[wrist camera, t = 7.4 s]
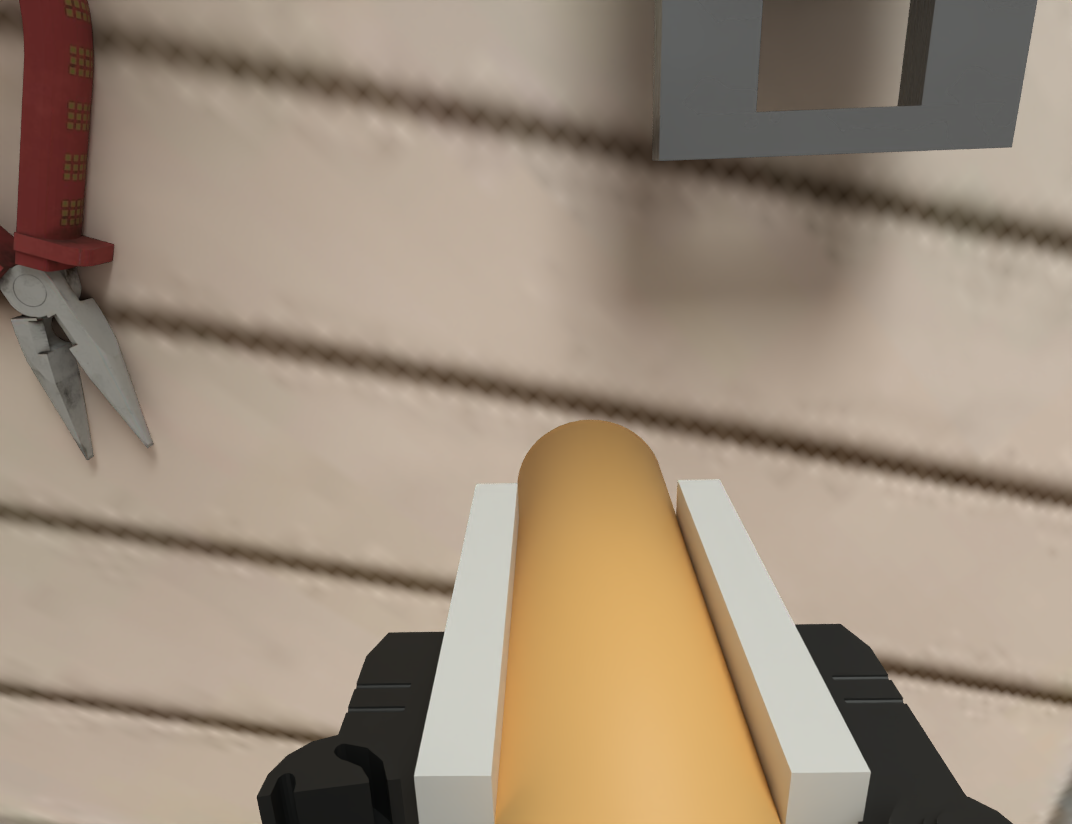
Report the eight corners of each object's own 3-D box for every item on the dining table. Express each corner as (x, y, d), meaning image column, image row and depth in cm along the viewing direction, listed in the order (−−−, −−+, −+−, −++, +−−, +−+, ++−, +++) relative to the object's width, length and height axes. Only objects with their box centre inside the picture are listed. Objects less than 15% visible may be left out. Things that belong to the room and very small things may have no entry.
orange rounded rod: (519, 551, 17) (470, 1212, 6) (515, 421, 16) (444, 963, 5) (659, 549, 17) (841, 1214, 6) (664, 418, 15) (894, 961, 5)
